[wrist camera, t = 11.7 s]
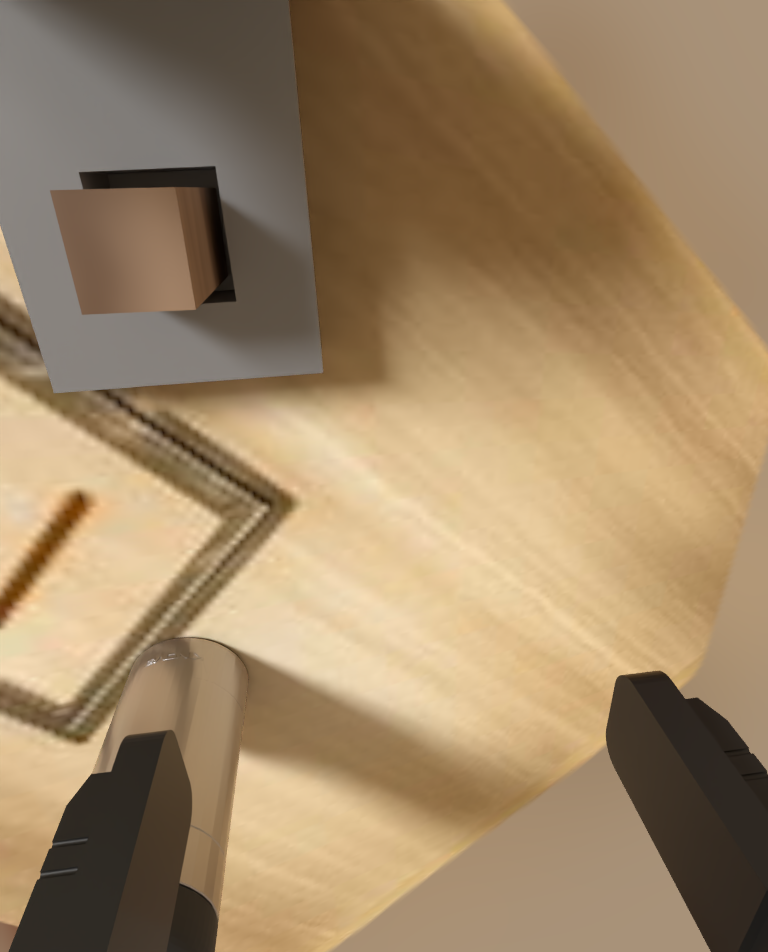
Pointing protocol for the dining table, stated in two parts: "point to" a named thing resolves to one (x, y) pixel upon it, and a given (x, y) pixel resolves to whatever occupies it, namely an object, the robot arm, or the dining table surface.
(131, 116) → the socket
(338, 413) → the dining table surface
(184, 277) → the peg
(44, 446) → the dining table surface
